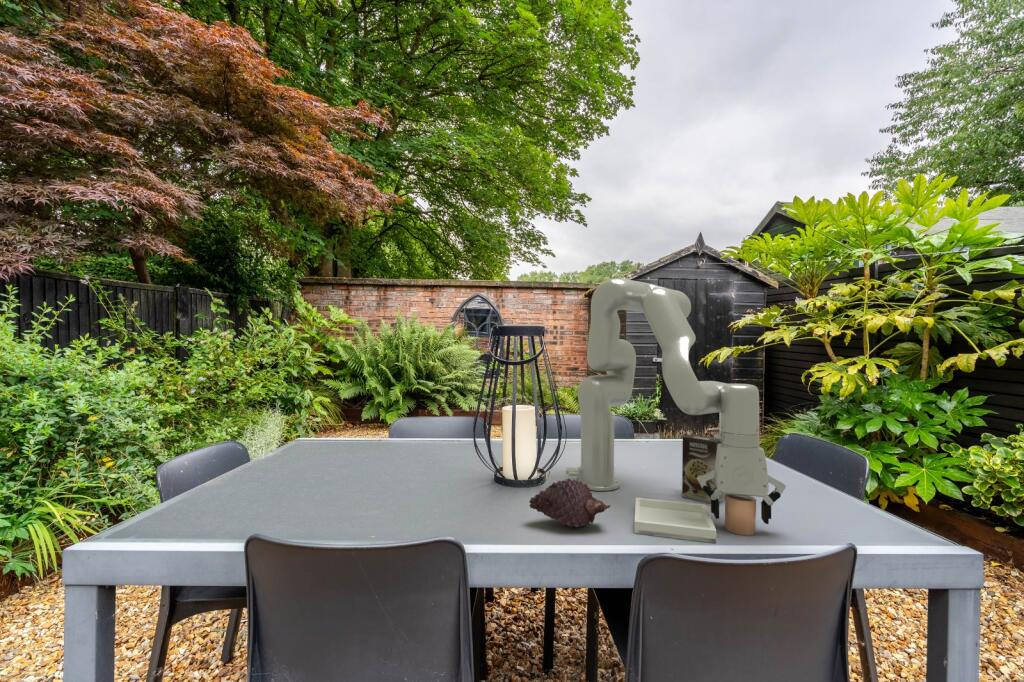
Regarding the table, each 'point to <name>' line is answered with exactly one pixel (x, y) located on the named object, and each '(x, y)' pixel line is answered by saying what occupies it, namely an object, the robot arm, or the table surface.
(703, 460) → the coffee box
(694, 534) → the tray
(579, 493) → the pine cone
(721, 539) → the table surface
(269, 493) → the table surface
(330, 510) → the table surface
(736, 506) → the cup
